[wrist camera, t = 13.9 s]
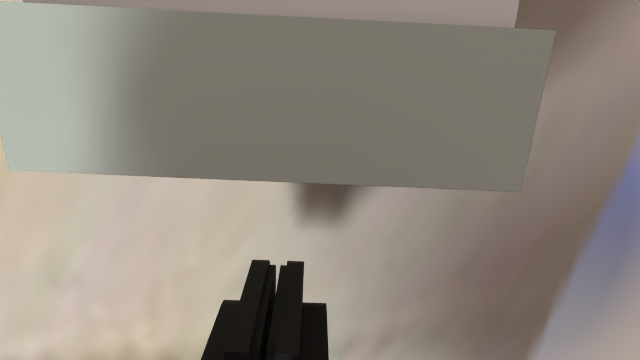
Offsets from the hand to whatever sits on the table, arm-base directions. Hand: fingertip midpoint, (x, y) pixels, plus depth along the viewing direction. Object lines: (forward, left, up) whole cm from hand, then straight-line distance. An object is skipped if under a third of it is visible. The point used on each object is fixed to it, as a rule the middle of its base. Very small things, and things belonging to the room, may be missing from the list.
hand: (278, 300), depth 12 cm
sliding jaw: (+7, 0, -1) cm, 7 cm away
